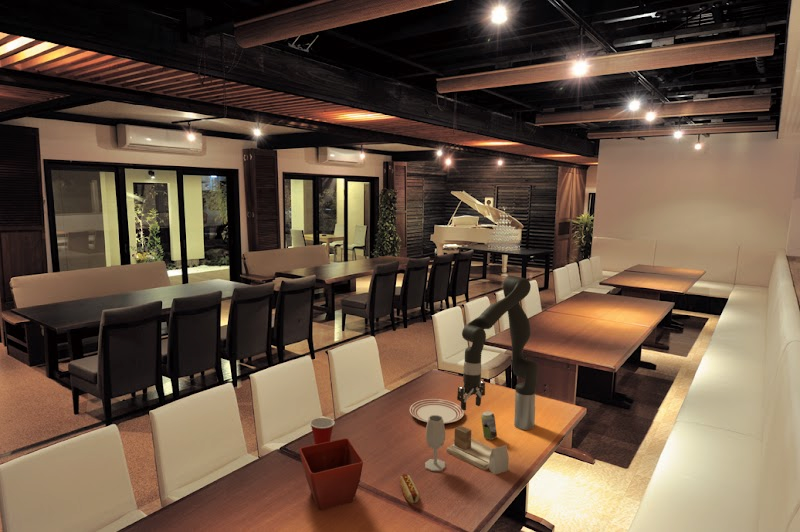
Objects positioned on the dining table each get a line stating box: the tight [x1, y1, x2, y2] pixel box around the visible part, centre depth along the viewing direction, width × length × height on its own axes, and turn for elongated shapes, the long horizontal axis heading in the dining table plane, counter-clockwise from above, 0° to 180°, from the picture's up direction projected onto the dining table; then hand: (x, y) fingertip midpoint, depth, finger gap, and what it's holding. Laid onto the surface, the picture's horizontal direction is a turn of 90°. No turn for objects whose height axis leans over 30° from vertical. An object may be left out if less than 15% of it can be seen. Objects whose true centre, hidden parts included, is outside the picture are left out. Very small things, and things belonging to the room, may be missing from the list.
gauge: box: [453, 425, 472, 450], centre depth 214 cm, size 4×8×8 cm, turn 44°
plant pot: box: [299, 437, 364, 511], centre depth 180 cm, size 19×19×17 cm
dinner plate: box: [409, 398, 465, 425], centre depth 248 cm, size 28×27×3 cm
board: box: [446, 438, 494, 471], centre depth 210 cm, size 14×20×2 cm
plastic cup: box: [309, 417, 335, 445], centre depth 216 cm, size 11×11×12 cm
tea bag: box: [488, 444, 510, 475], centre depth 198 cm, size 4×7×10 cm, turn 116°
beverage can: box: [480, 410, 498, 440], centre depth 225 cm, size 6×7×12 cm
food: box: [399, 473, 420, 504], centre depth 183 cm, size 14×6×5 cm, turn 16°
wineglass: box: [424, 415, 446, 472], centre depth 200 cm, size 9×9×21 cm
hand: (470, 407), depth 213 cm, fingers open, 8 cm apart
